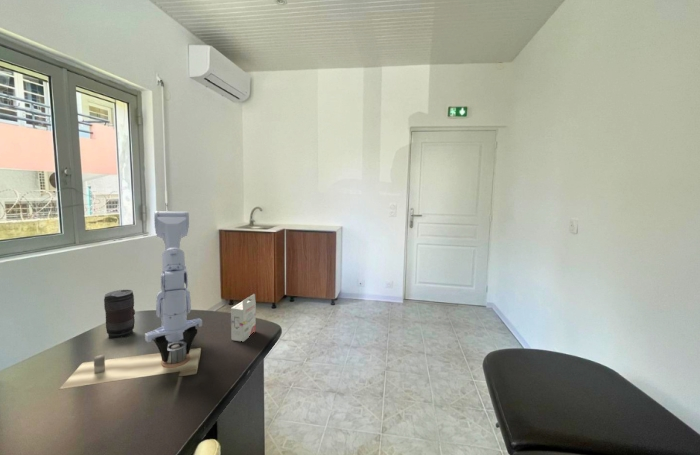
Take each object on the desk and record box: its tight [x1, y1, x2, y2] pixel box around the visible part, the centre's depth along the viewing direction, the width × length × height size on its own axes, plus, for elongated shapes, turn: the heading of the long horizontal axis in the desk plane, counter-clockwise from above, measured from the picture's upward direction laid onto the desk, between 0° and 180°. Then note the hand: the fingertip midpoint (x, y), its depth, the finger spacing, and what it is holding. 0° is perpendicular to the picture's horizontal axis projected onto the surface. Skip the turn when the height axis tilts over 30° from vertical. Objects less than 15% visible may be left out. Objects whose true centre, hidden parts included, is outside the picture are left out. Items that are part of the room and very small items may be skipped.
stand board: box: [59, 345, 202, 390], centre depth 84 cm, size 12×30×6 cm, turn 111°
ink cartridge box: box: [230, 293, 257, 343], centre depth 107 cm, size 9×5×15 cm, turn 168°
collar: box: [166, 340, 187, 364], centre depth 87 cm, size 5×5×4 cm
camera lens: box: [103, 289, 136, 340], centre depth 103 cm, size 8×8×15 cm
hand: (175, 356), depth 87 cm, fingers closed on collar, 5 cm apart
